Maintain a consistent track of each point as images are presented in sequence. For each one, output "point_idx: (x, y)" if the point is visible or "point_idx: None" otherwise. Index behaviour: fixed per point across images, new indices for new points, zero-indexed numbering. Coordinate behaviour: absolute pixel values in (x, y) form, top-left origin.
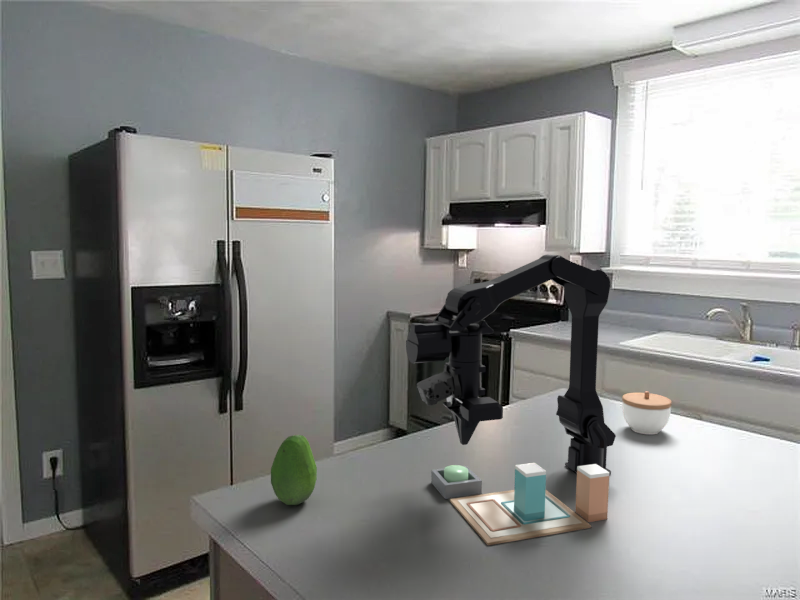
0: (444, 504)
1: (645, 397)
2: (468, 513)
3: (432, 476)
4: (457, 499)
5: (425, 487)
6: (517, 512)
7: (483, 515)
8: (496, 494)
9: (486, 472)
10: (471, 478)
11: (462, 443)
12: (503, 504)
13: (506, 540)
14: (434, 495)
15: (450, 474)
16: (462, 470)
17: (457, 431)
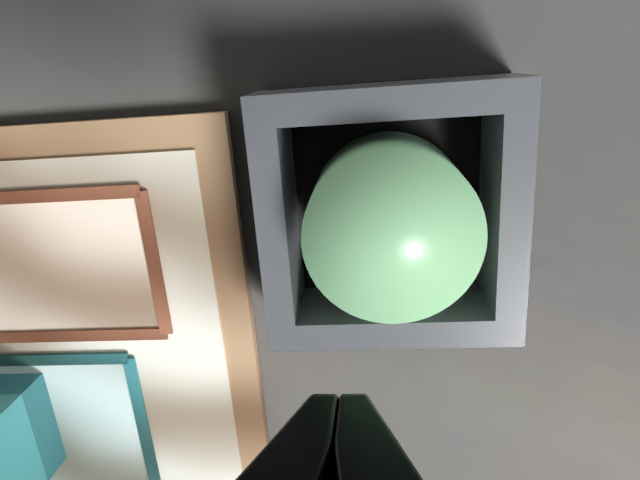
0: (194, 64)
1: None
2: (40, 157)
3: (505, 76)
4: (210, 154)
5: (454, 9)
6: (2, 380)
7: (3, 222)
8: (235, 372)
9: (533, 433)
10: None
11: (304, 404)
12: (107, 357)
13: None
14: (323, 37)
15: (330, 174)
16: (372, 281)
17: (413, 476)
